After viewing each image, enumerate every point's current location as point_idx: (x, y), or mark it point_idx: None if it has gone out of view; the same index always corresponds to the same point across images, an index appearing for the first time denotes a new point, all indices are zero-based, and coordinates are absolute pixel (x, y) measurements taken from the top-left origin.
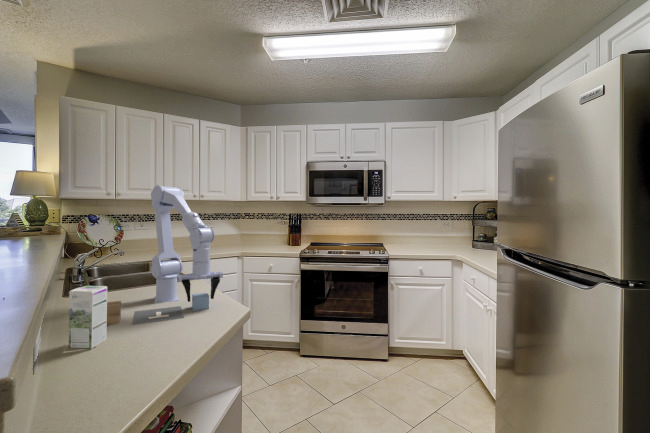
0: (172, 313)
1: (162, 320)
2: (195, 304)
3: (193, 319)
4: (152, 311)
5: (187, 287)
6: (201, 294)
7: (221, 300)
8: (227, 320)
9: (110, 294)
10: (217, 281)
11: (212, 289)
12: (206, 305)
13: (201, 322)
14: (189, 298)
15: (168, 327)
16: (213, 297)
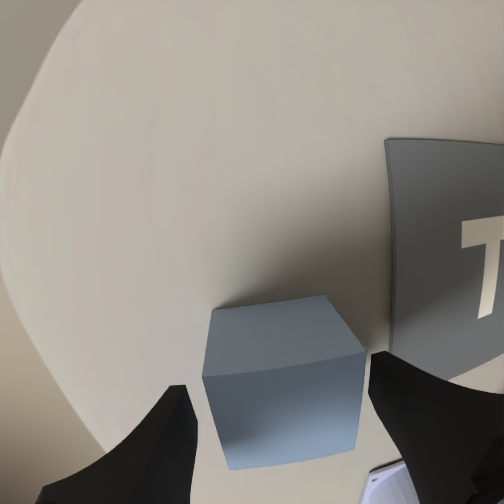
0: (444, 269)
1: (480, 148)
2: (326, 321)
3: (324, 109)
4: (497, 328)
5: (483, 405)
6: (281, 439)
7: None
8: (101, 35)
9: None
10: (59, 499)
11: (161, 450)
12: (230, 324)
13: (267, 31)
14: (392, 361)
15: (436, 43)
16: (165, 392)
